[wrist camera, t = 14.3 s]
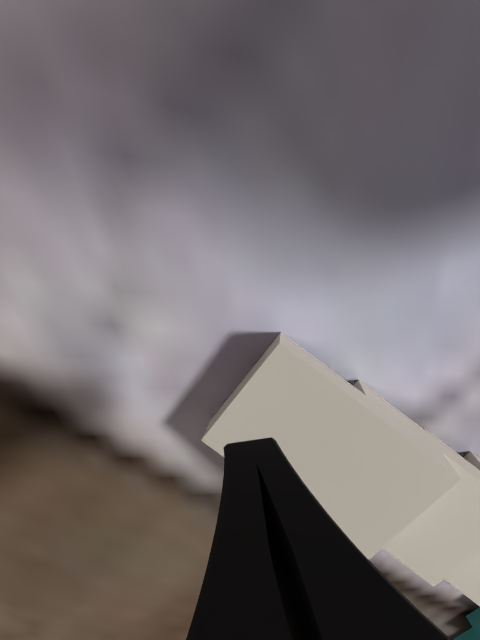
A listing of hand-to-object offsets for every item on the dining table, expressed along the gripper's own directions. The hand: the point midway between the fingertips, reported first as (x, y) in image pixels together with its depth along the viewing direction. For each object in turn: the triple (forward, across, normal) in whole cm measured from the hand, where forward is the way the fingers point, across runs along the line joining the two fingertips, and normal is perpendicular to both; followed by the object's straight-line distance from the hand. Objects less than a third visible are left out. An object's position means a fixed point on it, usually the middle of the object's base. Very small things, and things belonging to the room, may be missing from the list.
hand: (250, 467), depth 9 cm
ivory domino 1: (+4, 0, 0) cm, 4 cm away
